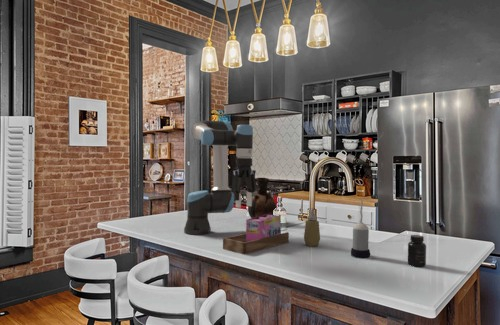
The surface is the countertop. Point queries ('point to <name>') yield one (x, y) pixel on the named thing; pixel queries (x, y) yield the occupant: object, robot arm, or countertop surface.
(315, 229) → the squeeze bottle
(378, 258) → the countertop surface
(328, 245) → the countertop surface
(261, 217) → the gum box
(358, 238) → the grey long nozzle bottle
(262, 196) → the ceramic vessel
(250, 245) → the u-shaped wooden frame
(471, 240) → the countertop surface
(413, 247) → the supplement bottle
